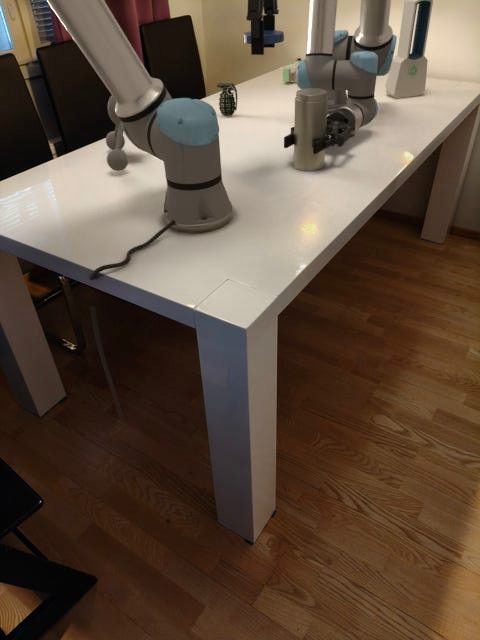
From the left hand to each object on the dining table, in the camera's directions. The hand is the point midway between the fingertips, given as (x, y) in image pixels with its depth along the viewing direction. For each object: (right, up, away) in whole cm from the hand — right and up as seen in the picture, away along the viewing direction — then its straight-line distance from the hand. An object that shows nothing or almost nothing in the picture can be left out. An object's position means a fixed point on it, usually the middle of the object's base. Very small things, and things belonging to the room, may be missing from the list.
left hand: (263, 50), depth 112 cm
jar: (+13, -21, +17) cm, 30 cm away
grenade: (-9, +9, +57) cm, 59 cm away
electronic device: (+55, +21, +68) cm, 90 cm away
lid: (0, +3, -2) cm, 3 cm away
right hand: (+10, -18, +10) cm, 23 cm away
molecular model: (-33, -15, +28) cm, 46 cm away
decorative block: (+25, +40, +95) cm, 106 cm away
